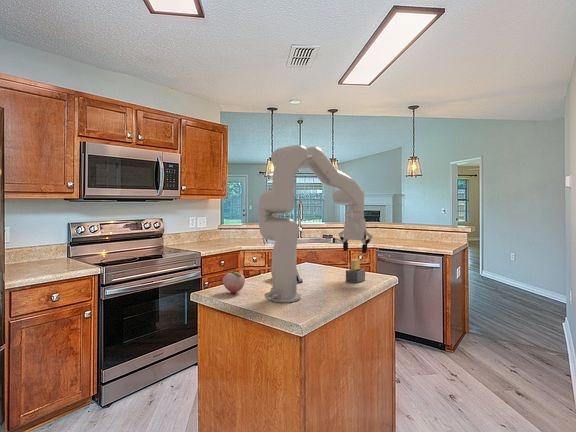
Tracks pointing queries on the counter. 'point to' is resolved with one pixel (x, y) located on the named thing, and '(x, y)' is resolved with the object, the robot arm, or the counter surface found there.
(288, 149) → the robot arm
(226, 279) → the decorative fruit
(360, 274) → the dark grey open box
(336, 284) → the counter surface
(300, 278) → the hinge
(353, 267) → the tan rectangular block
